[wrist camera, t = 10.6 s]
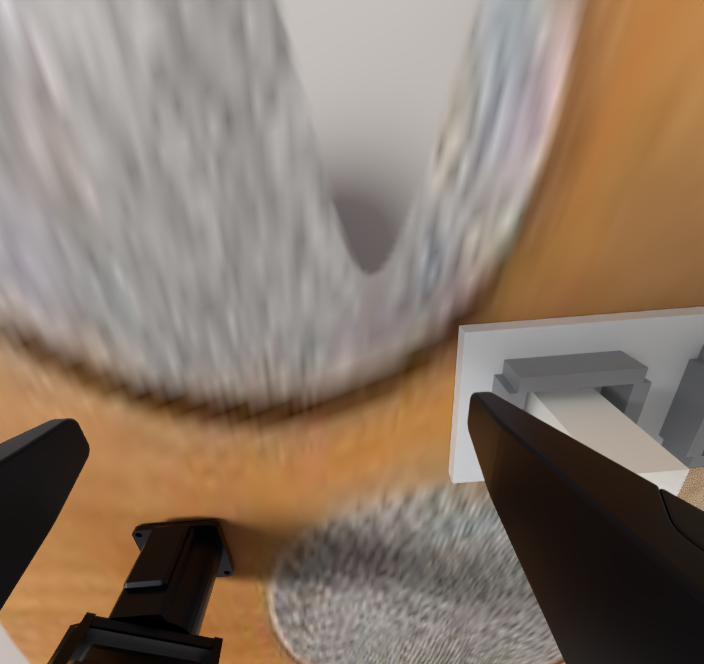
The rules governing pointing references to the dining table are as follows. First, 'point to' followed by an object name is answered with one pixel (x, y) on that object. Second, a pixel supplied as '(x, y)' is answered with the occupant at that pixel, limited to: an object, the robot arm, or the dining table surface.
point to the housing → (590, 373)
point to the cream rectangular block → (607, 433)
